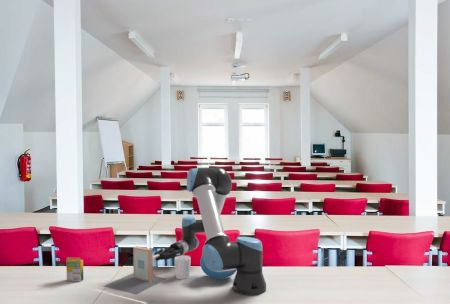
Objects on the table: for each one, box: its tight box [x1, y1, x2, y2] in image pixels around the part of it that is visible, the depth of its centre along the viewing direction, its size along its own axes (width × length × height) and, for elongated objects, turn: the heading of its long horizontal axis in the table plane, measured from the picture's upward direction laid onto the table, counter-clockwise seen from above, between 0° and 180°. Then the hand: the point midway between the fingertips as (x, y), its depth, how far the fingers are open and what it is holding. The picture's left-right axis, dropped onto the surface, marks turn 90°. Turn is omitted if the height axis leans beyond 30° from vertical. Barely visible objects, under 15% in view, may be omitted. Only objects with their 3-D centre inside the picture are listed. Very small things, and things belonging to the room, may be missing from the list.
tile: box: [132, 246, 154, 282], centre depth 192 cm, size 10×2×15 cm, turn 61°
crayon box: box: [65, 256, 84, 282], centre depth 193 cm, size 7×3×12 cm, turn 84°
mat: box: [104, 272, 168, 295], centre depth 188 cm, size 20×22×1 cm
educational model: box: [199, 254, 237, 280], centre depth 195 cm, size 16×19×15 cm
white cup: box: [174, 254, 192, 280], centre depth 195 cm, size 8×8×10 cm
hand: (150, 260), depth 197 cm, fingers closed
